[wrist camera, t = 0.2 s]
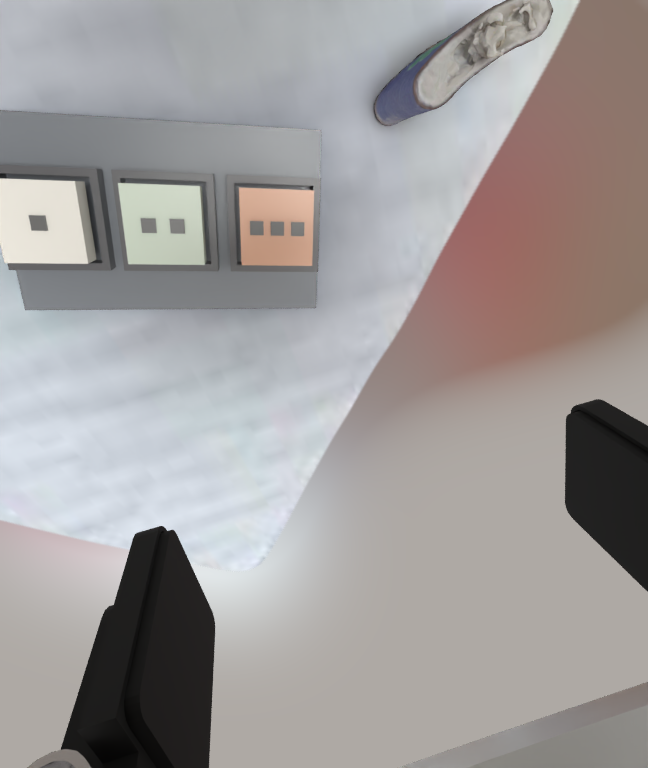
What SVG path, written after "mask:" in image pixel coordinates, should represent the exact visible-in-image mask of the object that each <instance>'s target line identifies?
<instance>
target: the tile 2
mask: <svg viewBox="0 0 648 768" xmlns="http://www.w3.org/2000/svg"><path fill="white" fill-rule="evenodd" d="M118 189H119V196H120V204H121V212H122V220H123V227H124V235H125V243H126V251H127V258H128V264H158V265H205V263H206V261H207V260H206V244H205V228H204V212H203V197H202V186H188V185H161V184H135V183H118Z"/></svg>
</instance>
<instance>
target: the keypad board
mask: <svg viewBox="0 0 648 768" xmlns="http://www.w3.org/2000/svg"><path fill="white" fill-rule="evenodd" d="M320 162H321V130H312V129H295V128H279V127H263V126H247V125H231V124H215V123H199V122H182V121H166V120H150V119H134V118H118V117H102V116H85V115H69V114H53V113H37V112H21V111H5V110H0V178H5V179H31V180H57V181H83V182H85V188H86V195H87V201H88V208H89V214H90V221H91V227H92V233H93V240H94V246H95V253H96V260H95V261H93V262H91V263H89V264H49V263H8V267H9V270H16V271H17V276H18V280H19V285H20V289H21V294H22V298H23V303H24V307H25V310H114V309H256V308H316V295H317V272H318V252H319V219H320V186H321V178H320ZM118 183H135V184H161V185H188V186H202V197H203V212H204V228H205V244H206V260H207V261H206V263H205V265H158V264H128V258H127V251H126V243H125V235H124V227H123V220H122V212H121V204H120V196H119V189H118ZM239 187H240V188H266V189H292V190H314V216H313V255H312V266H267V265H242V263H241V237H240V208H239Z"/></svg>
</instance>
